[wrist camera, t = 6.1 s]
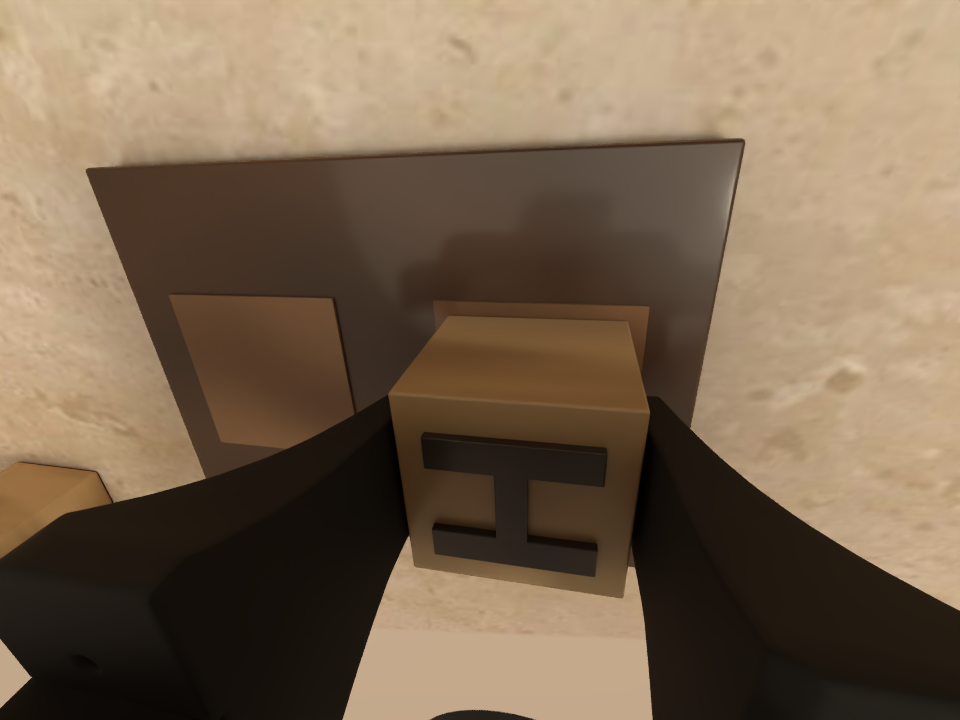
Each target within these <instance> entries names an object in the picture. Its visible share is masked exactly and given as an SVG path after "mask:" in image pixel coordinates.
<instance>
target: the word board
mask: <svg viewBox="0 0 960 720" xmlns="http://www.w3.org/2000/svg"><path fill="white" fill-rule="evenodd" d="M744 147H745V140H744V139H742V138H731V139H708V140H686V141H664V142H642V143H620V144H598V145H576V146H554V147H532V148H510V149H488V150H466V151H444V152H423V153H401V154H379V155H357V156H335V157H313V158H291V159H269V160H247V161H225V162H203V163H181V164H159V165H137V166H116V167H97V168H88V169H86V173H87V176H88V179H89V181H90V184H91V186H92V189H93V191H94V194H95V196H96V199H97V201H98V204H99V207H100V209H101V212H102V214H103V217H104V219H105V222H106V224H107V227H108V230H109V232H110V235H111V237H112V240H113V242H114V245H115V247H116V250H117V253H118V255H119V258H120V260H121V263H122V265H123V268H124V270H125V273H126V275H127V278H128V281H129V283H130V286H131V288H132V291H133V293H134V296H135V298H136V301H137V304H138V306H139V309H140V311H141V314H142V316H143V319H144V321H145V324H146V327H147V329H148V332H149V334H150V337H151V339H152V342H153V344H154V347H155V349H156V352H157V355H158V357H159V360H160V362H161V365H162V367H163V370H164V372H165V375H166V378H167V380H168V383H169V385H170V388H171V390H172V393H173V395H174V398H175V401H176V403H177V406H178V408H179V411H180V413H181V416H182V418H183V421H184V423H185V426H186V429H187V431H188V434H189V436H190V439H191V441H192V444H193V446H194V449H195V452H196V454H197V457H198V459H199V462H200V464H201V467H202V469H203V472H204V474H205V477H206V479H207V478H210V477H213V476H216V475H219V474H222V473H225V472H228V471H231V470H233V469H236V468H239V467H242V466H244V465H247V464H250V463H253V462H255V461H258V460H261V459H264V458H266V457H269V456H271V455H274V454H276V453H278V452H281V451H283V450H285V449H287V448H290V447H292V446H294V445H297V444H299V443H301V442H303V441H305V440H307V439H309V438H311V437H313V436H315V435H317V434H319V433H321V432H323V431H325V430H327V429H329V428H330V427H332V426H334V425H336V424H338V423H340V422H342V421H343V420H345V419H347V418H349V417H351V416H353V415H354V414H356V413H358V412H359V411H361V410H363V409H364V408H366V407H368V406H370V405H371V404H373V403H375V402H376V401H378V400H380V399H381V398H383V397H385V396H386V395H388V394H389V391H390V390H391V389H392V388H393V386H394V385H395V384H396V382H397V381H398V380H399V379H400V377H401V376H402V375H403V373H404V372H405V371H406V370H407V368H408V367H409V366H410V364H411V363H412V362H413V361H414V359H415V358H416V357H417V355H418V354H419V353H420V352H421V350H422V349H423V348H424V346H425V345H426V344H427V342H428V341H429V340H430V339H431V337H432V336H433V335H434V333H435V332H436V331H437V330H438V328H439V327H440V326H441V324H442V323H443V322H444V321H445V319H446V318H447V317H448V316H472V317H504V318H535V319H567V320H598V321H626V322H628V325H629V329H630V333H631V337H632V341H633V345H634V349H635V353H636V357H637V361H638V365H639V369H640V373H641V378H642V382H643V386H644V390H645V394H646V396H657V397H660V398H661V399H662V400H663V401H664V402H665V403H666V404H667V405H668V406H669V407H670V409H671V410H672V411H673V412H674V413H675V414H676V415H677V416H678V417H679V418H680V419H681V420H682V421H683V422H684V423H685V424H686V425H687V426H688V427H689V428H690V427H691V422H692V417H693V411H694V406H695V401H696V396H697V391H698V386H699V380H700V375H701V370H702V365H703V360H704V355H705V349H706V344H707V339H708V334H709V329H710V323H711V318H712V313H713V308H714V303H715V298H716V292H717V287H718V282H719V277H720V272H721V267H722V261H723V256H724V251H725V246H726V241H727V235H728V230H729V225H730V220H731V215H732V210H733V204H734V199H735V194H736V189H737V184H738V179H739V173H740V168H741V163H742V158H743V153H744ZM408 536H410V534H409V535H408ZM628 566H629V567H635V563H634V558H633V553H632V548H631V549H630V556H629V563H628Z"/></svg>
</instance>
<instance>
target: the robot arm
mask: <svg viewBox="0 0 960 720" xmlns="http://www.w3.org/2000/svg"><path fill="white" fill-rule="evenodd" d="M646 398H647V402H648V406H649V410H650V417H649V424H648V431H647V437H646V444H645V451H644V458H643V465H642V472H641V479H640V486H639V493H638V500H637V507H636V514H635V521H634V528H633V535H632V542H631V548H632V553H633V558H634V563H635V569H636V574H637V579H638V585H639V590H640V595H641V601H642V608H643V615H644V622H645V632H646V643H647V655H648V666H649V678H650V690H651V703H652V716H653V720H960V611H959V610H957V609H955V608H953V607H951V606H949V605H947V604H945V603H943V602H941V601H939V600H938V599H936V598H934V597H932V596H930V595H928V594H926V593H925V592H923V591H921V590H919V589H917V588H915V587H913V586H912V585H910V584H908V583H906V582H904V581H902V580H900V579H898V578H897V577H895V576H893V575H891V574H889V573H887V572H886V571H884V570H882V569H880V568H879V567H877V566H875V565H873V564H872V563H870V562H868V561H866V560H865V559H863V558H861V557H859V556H858V555H856V554H854V553H853V552H851V551H849V550H848V549H846V548H845V547H843V546H841V545H840V544H838V543H837V542H835V541H833V540H832V539H830V538H828V537H827V536H825V535H824V534H822V533H820V532H819V531H817V530H816V529H814V528H812V527H811V526H809V525H808V524H806V523H805V522H803V521H802V520H800V519H799V518H797V517H796V516H794V515H793V514H792V513H790V512H789V511H787V510H786V509H785V508H783V507H782V506H780V505H779V504H778V503H776V502H775V501H774V500H772V499H771V498H769V497H768V496H767V495H765V494H764V493H763V492H761V491H760V490H759V489H757V488H756V487H755V486H753V485H752V484H751V483H750V482H748V481H747V480H746V479H745V478H743V477H742V476H741V475H740V474H739V473H738V472H736V471H735V470H734V469H733V468H732V467H731V466H729V465H728V464H727V463H726V462H725V461H723V460H722V459H721V458H720V457H719V456H718V455H717V454H716V453H715V452H713V451H712V450H711V449H710V448H709V447H708V446H707V445H706V444H705V443H704V442H703V441H702V440H701V439H700V438H699V437H698V436H697V435H696V434H695V433H694V432H693V431H692V430H691V429H690V428H689V427H688V426H687V425H686V424H685V423H684V422H683V421H682V420H681V419H680V418H679V417H678V416H677V415H676V414H675V413H674V412H673V411H672V410H671V409H670V407H669V406H668V405H667V404H666V403H665V402H664V401H663V400H662V399H661V398H660V397H657V396H646ZM408 535H409V528H408V521H407V514H406V508H405V501H404V495H403V488H402V481H401V475H400V468H399V462H398V455H397V448H396V442H395V435H394V429H393V422H392V415H391V409H390V402H389V396H388V395H386V396H385V397H383V398H381V399H380V400H378V401H376V402H375V403H373V404H371V405H370V406H368V407H366V408H364V409H363V410H361V411H359V412H358V413H356V414H354V415H353V416H351V417H349V418H347V419H345V420H343V421H342V422H340V423H338V424H336V425H334V426H332V427H330V428H329V429H327V430H325V431H323V432H321V433H319V434H317V435H315V436H313V437H311V438H309V439H307V440H305V441H303V442H301V443H299V444H297V445H294V446H292V447H290V448H287V449H285V450H283V451H281V452H278V453H276V454H274V455H271V456H269V457H266V458H264V459H261V460H258V461H255V462H253V463H250V464H247V465H244V466H242V467H239V468H236V469H233V470H231V471H228V472H225V473H222V474H219V475H216V476H213V477H210V478H207V479H204V480H200V481H197V482H194V483H190V484H187V485H184V486H180V487H176V488H173V489H169V490H165V491H162V492H158V493H154V494H150V495H146V496H142V497H138V498H133V499H129V500H124V501H120V502H115V503H111V504H106V505H102V506H97V507H93V508H88V509H84V510H79V511H73V512H68V513H65V514H63V515H62V516H60V517H58V518H57V519H55V520H54V521H52V522H51V523H49V524H48V525H47V526H45V527H44V528H42V529H41V530H40V531H38V532H37V533H35V534H34V535H33V536H31V537H30V538H28V539H27V540H26V541H24V542H23V543H22V544H20V545H19V546H17V547H16V548H15V549H13V550H12V551H10V552H9V553H8V554H6V555H5V556H3V557H2V558H1V559H0V639H1V640H2V642H3V643H4V644H5V645H6V646H7V648H8V649H9V650H10V651H11V653H12V654H13V655H14V656H15V658H17V660H18V661H19V663H20V664H21V665H22V666H23V668H24V669H25V670H26V671H27V672H28V674H29V675H30V676H31V677H32V678H31V679H30V680H29V681H28V682H27V683H26V684H25V685H24V686H23V687H22V688H21V689H20V690H19V691H18V692H17V693H16V694H15V695H14V696H12V698H10V699H9V700H8V701H7V702H6V703H5V704H4V705H3V706H2V707H1V708H0V720H342V719H343V716H344V713H345V709H346V706H347V703H348V700H349V696H350V693H351V690H352V686H353V683H354V680H355V677H356V673H357V670H358V667H359V664H360V661H361V658H362V655H363V652H364V649H365V645H366V642H367V639H368V636H369V634H370V631H371V628H372V625H373V622H374V619H375V616H376V613H377V610H378V607H379V605H380V602H381V599H382V596H383V593H384V590H385V588H386V585H387V582H388V580H389V577H390V575H391V572H392V570H393V568H394V565H395V563H396V561H397V559H398V557H399V554H400V552H401V550H402V548H403V546H404V544H405V542H406V540H407V538H408Z"/></svg>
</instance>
